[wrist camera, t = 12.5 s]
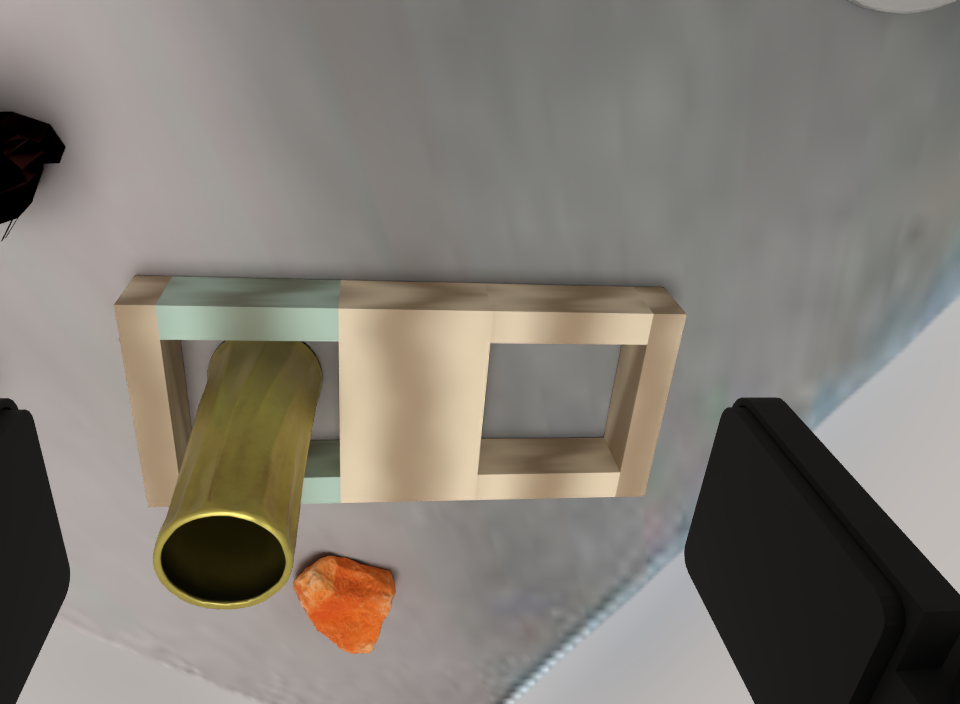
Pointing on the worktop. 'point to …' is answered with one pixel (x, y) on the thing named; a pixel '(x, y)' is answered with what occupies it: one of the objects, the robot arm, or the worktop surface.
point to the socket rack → (410, 380)
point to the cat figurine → (23, 161)
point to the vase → (241, 477)
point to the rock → (346, 601)
